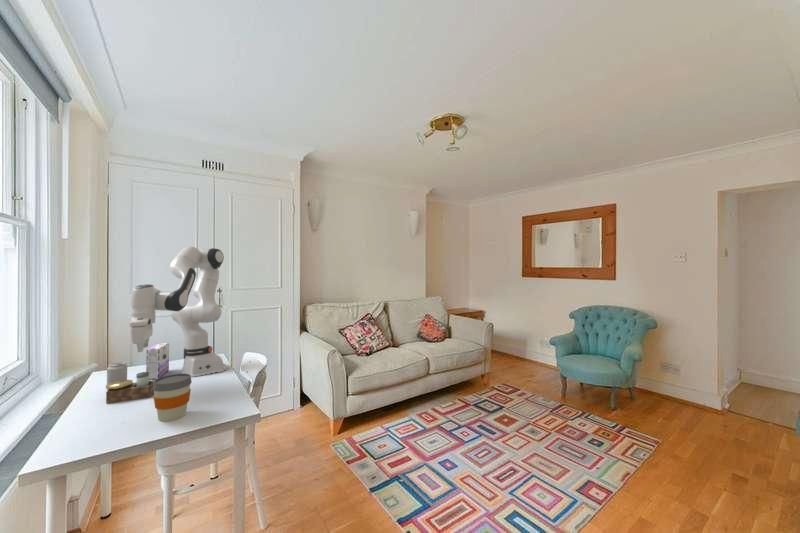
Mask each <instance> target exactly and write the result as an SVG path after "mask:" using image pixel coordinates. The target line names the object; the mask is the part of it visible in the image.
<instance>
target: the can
mask: <svg viewBox="0 0 800 533" xmlns="http://www.w3.org/2000/svg"><path fill="white" fill-rule="evenodd" d="M120 380H128V364H126V361H118V362H113V363H110V364H109V365H108V367H106V385H107V384H109V383H111V382H115V381H120Z"/></svg>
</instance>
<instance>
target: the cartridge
mask: <svg viewBox="0 0 800 533" xmlns="http://www.w3.org/2000/svg"><path fill="white" fill-rule="evenodd" d="M135 377H136V382H137V387H140V386H147V385H149V381H150V380H149V372H146V371H142V372H139V373H137V374H136V376H135Z"/></svg>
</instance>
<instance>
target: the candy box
mask: <svg viewBox="0 0 800 533" xmlns="http://www.w3.org/2000/svg"><path fill="white" fill-rule="evenodd" d="M145 366H146V370H145V372H149V381H150V380H156V379H158V378H160V377H163V376H165V375H166V374H167V373H168V372H169V371H170V343H169V342H163V343H162V342H161V343H156V344H154V345H152V346H151V347H148V348H146V364H145Z"/></svg>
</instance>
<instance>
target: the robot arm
mask: <svg viewBox="0 0 800 533" xmlns="http://www.w3.org/2000/svg"><path fill="white" fill-rule="evenodd" d="M224 258H225V257H224V253H223V251H222V250H221V249H219V248H213V247H212V248H202V249H198V248H197V247H194V246H191V245H190V246H186V247H185V246H184V248H183V249H181V250H180V251H179V252H177V254H176V255H175V257H174V258H173V259H172V260H171V262H170V263H169V271H170V273H171V274H172V275H173V276H174V277H175V278H178V279H180V283H179V285H178V287H177V289H173V290H161V289H157V288H155V286H154V284H141V285H140V284H139V285H137V286H135V287H133V289H132V291H131V297H130V298H131V300H130V306H131V312H130V321H129V327H130V328H131V330H130V332H131V342H132V344H133V345H136V348H137V353H142V352H144V348H146V349H147V348H149V341H150V337H152V336H153V331H154V330H153V324H155V323H156V311H170V312H171V313H170V314H171V316H170V317H171V319H172V320H173V321H174V322H175V323H177V324H178V325H179V326H180V328H181V330H182V332H183V338H184V348H183V365H182V369H181V372H180V374H190V375H191V378H192V377H193V378H196V377H202V376H206V375H205V374H207V375H211V374H210V373H213V374H216V373H215V372H218V373H222V372H221V371H223V372H225V371H227V369H228V366H227V364H225V363H224V361H223V358H222V357H221V356H220V355H218V354H216V353H215V352H213V346H211V345H209V333H208V331H207V330H206V329H204V328H202V327H201V326H200V324H201V323H202V324H205V323H206V324H208V323H212V322H217V321H219V319H220V318H221V316H222V308H221V306H220V305H219V304H217V302H216V301H215V295H216V290H217V286H218V282H219V279H220V269H219V268H221V267H222V266H221V265H222V264H223V262H224ZM195 269H199V274H198V276H197V272H196V271H195ZM196 277H197V278H196ZM194 282H195V284H194ZM192 288H193V289H192ZM191 291H192V293H193V295H194V297H195V298H197V299H198V302H195V303H191V302H190V303H189V302H188V301H189V297H190V296H189V295H190V293H191ZM224 370H225V371H224ZM201 375H202V376H201ZM195 376H196V377H195Z"/></svg>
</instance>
